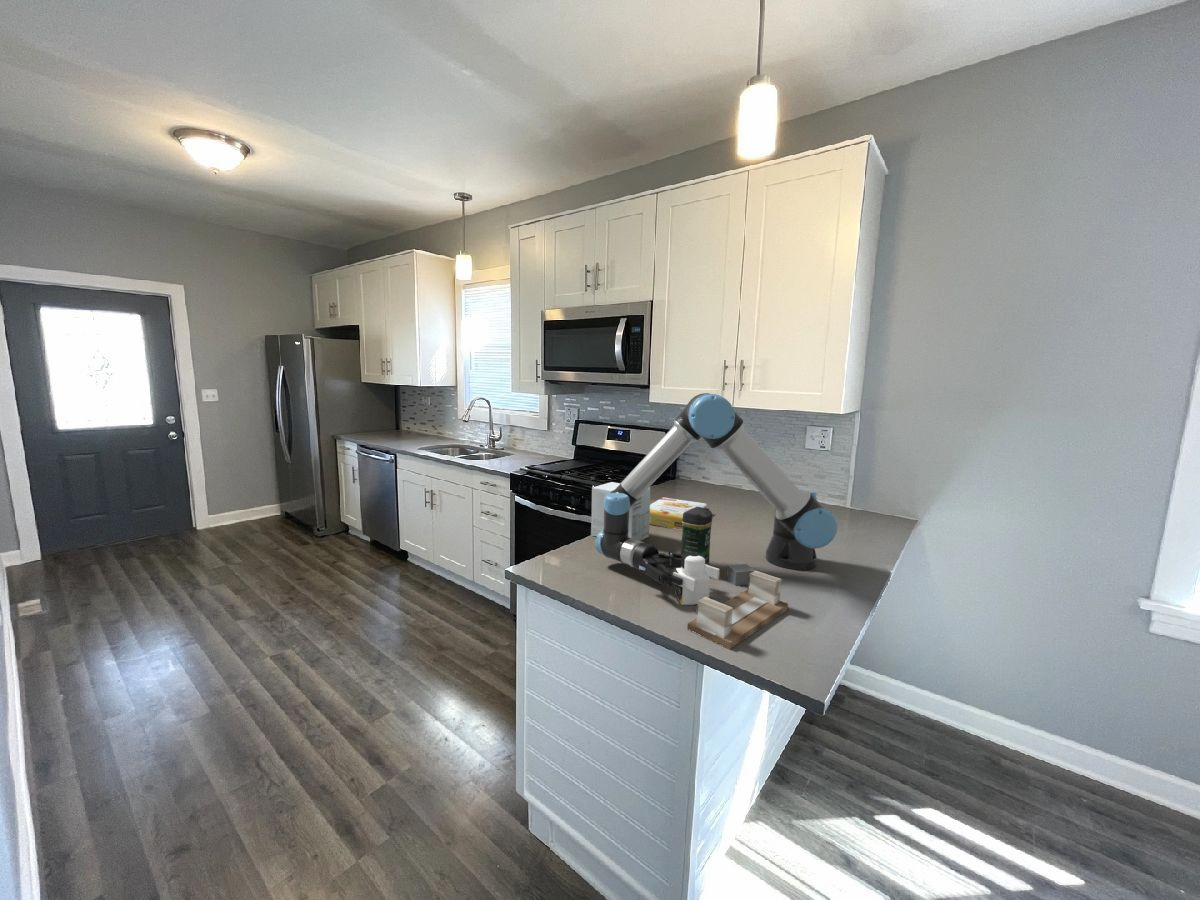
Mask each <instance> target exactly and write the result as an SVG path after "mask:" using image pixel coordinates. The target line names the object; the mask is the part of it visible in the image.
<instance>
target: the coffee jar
mask: <svg viewBox="0 0 1200 900" xmlns="http://www.w3.org/2000/svg"><path fill="white" fill-rule="evenodd" d="M712 525H713V512H712V511H711V510H710V509H709V508H702V507H695V508H692V509H690V510H688V511H686V512H684V513H683V519H682V530H681V533H682V534H681V544H680V545H681V546H680V554H682V555H683V554H684V553H688V552H696V553H699V554H702V555H703V556H704V557H705V558H706V559H705V564H706V565H709V566H710V556H711V555H710V551H711V550H710V548H711V534H712V533H711V532H712Z"/></svg>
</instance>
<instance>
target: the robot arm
mask: <svg viewBox="0 0 1200 900" xmlns="http://www.w3.org/2000/svg"><path fill="white" fill-rule="evenodd" d="M700 439H703V441H704V442H705V443H706V445H707V444H708V446H709V447H710V448H711V449H712V450H720V451H721V453H723V454H724V456H726V458H727V459H729V461H730V462H731V463H732V464H733V465H734V466H735V467H736V468H737V469H738V470H739V471H740V473H741V474H742V475H743V476H744V477H745V478H746V479H747V480H748V481H749V482H750V484H751V485H753V487H754V488H755V489H756V490H757V491H758V492H759V493H760V494H761V495H762V496H763V498H764V499H766V500H767V502H768V503H769V504H770V506H772V507H773V508H774V515H773V530H772V536H771V539H770V540H769V543H768V545H767V547H766V550H765V559H766V560H767V561H768V563H770V564H773V565H775V566H778V567H781V568H786V569H792V570H809V569H813V568H815V567H816V566H817V561H818V559H817V558H818V557H817V554H816V550H815V549H820V548H823V547H826V546H827V545H829V544H830V543H831V542H832V541H833V540H835V537H836V535H837V532H838V521H837V519H836V517H835V516H834V514H833V513H832V511H830V510H828V509H826V508H825V507H824V506H823V505H822V504H821V503H820V502H819V500H818V498H817V493H816V492H815V491H813V490H806V489H800V488H799V487H798V486H797V485H796V484H795V483H794V482H793V481H792V479H790V477H789V476H788V475H787V474H786V473H785V472H784V471H783V470H782V469H781V468H780V467H779V466H778V464H776V462H775V461H774V460H773V459H772V458H771V457H770V456H769V455H768V454H767V453H766V452H765V450H764V449H763V448H762V447H761V446H760V445H759V443H757V442H756V441H755V440H754V438H752V436H751V435H750V434H749V433H748V432H747V431H746V430H745V421H744V419H743V418H742V417H741V416H740V415H739V414H738V413H737V412H736V411H735V410H734V407H733V406H732V404H731V403H730V401H729V400H728V399H726V398H725V397H724V396H722V395H719V394H716V393H709V392H707V393H705V392H704V393H699V394H697V395H695V396H693V397H692V398H691V399H690V401H688V403H687V404H686V406H685V407H683V410H681V412H680V413H679V414H678V416H677V417H676V418H675V419H674V420H673V426H672V427H671V428H670V430H668V431H667V433H665V435H664V436H663V437H662V438H661V439H660V440H659V441H658V442H657V443H656V444H655V446H654V447H652V449H650V451H649V452H648V453H647V454H646V455H645V456H644V457H643V459H641V461H639V462H638V464H637V465H636V466H635V467H634V468H633V469H632V470H631V471H630V472H629V474H628V475H626V477H624V479H623V480H622V481H621V482H620V485H619V486H618V487H617V488H616V489H614V490H613V491H611V493H610V494H607V495H606V496H605V499H604V529H603V531H601V532H600V533H599V534H598V535H597V537H596V539H595V541H594V542H595V543H594V546H595V550H596V551H597V553H599V554H600V555H603V556H605V557H606V558H607V559H612V560H614V561H617V562H620V563H622V564H625V565H627V566H630V567H631V568H635V569H637V570H639V572H640V573H642V574H644V575H646V576H648V577H649V578H651V579H652V580H654V581H656V582H657V583H658V584H661V585H665V584H666V586H668V587H671V586H672V584H674V585H675V584H676V585H679V586H681V587H684V588H686V589H689V590H691V591H696V580H695V579H692V578H689V577H687V576H684V575H681V574H679V573H676V571H674V572H671V571H670V570H671V569H672V570H673V569H676V568H681V559H682V554H681V553H677V552H675V551H671V550H669V551H668V554H666V553H664V552H663V553H662V552H659V551H658V548H657V547H656V546H655V545H652V544H649V543H646V542H643V541H642V540H641V541H638V540H635V539H632V538H629V537H628V532H629V511H630V507H631V506H632V505H633V504H634V503H635V502H636V501H637V500H638V498H639V497H640V496H641V495H642V494H643V493H644V492H645V491H646V490H647V489H648V488H651V486H652V485H653V484H654V483H655V482H656V481H657V479H659V478H660V477H661V475H662V474H663V473H664V472H665V471H666V470H667V469H668V468H669V467H670V466H671V465H672V464H673V463H674V462H675V461H676V459H677V458H679V456H681V454H682V453H683V452H684V451H685V450H686V449H687V448H688V447H689V446H690V445H691V443H694V442H698V441H699V440H700ZM705 573H706V574H707V575H708V577H709V578H710V579H713V580H714V579H715V580H716V581H717V580H720V568H718V567H715V566H711V565H710V564H709V565H706V564H705Z"/></svg>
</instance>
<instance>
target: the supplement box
mask: <svg viewBox="0 0 1200 900" xmlns="http://www.w3.org/2000/svg"><path fill="white" fill-rule="evenodd" d="M620 484H621V482H620V483H618V482H613V481H611V482H607V483H604V484H600V485H597V486H593V487H592V488H591V518H590V519H591V522H590V523H591V524H590V525H591V526H590V536H591V537H595V536H596V538H597V535H598V534H599V533H600V532H601V531H603V529H604V499H605V496H606V495H607V494H610V493H611V491H613V490H614V489H616V488H617V487H618V486H619V485H620ZM650 504H651V487H649V488H648V489H647V490H646V491H645V492H644V493H643V494H642V495H641V496H640V497H639V498H638V500H637V501H636V502H635V503H634V504H633V505H632V506H631V507H630V511H629V532H628V537H629V538H632V539H635V540H638V541H641V542H642V541H643V540H645V539H646V538H649V537H650V524H649V520H650Z"/></svg>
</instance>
